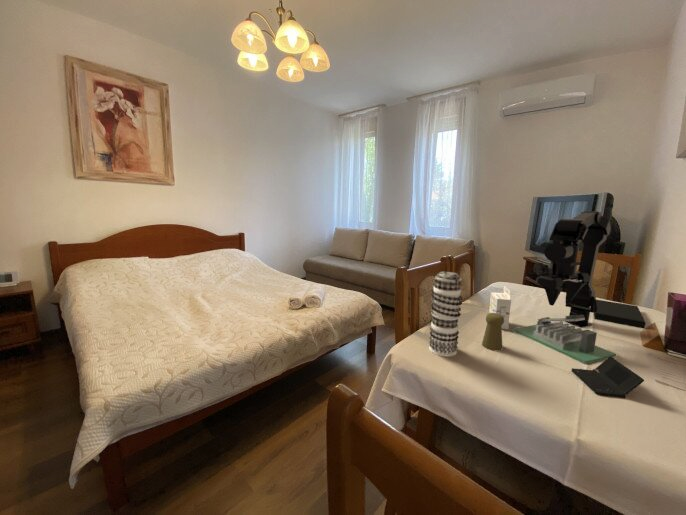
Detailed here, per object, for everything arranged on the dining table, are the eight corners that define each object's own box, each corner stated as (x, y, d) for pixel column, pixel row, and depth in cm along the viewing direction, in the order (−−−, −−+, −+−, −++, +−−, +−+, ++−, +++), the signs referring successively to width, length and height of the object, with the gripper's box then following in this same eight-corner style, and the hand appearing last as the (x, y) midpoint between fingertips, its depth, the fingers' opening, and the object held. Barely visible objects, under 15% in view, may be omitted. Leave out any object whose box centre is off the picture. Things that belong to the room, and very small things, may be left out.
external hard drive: (594, 319, 117) (595, 313, 117) (593, 305, 135) (594, 299, 134) (644, 329, 108) (645, 322, 108) (636, 312, 126) (637, 306, 125)
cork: (500, 343, 96) (504, 312, 94) (504, 352, 90) (507, 318, 88) (480, 340, 98) (483, 309, 96) (483, 348, 92) (486, 316, 90)
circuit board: (540, 325, 110) (541, 323, 110) (616, 356, 88) (616, 353, 88) (513, 330, 106) (513, 328, 106) (584, 364, 84) (585, 361, 84)
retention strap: (547, 320, 103) (546, 315, 103) (585, 319, 91) (584, 314, 92) (538, 321, 102) (537, 316, 102) (575, 321, 90) (574, 316, 90)
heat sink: (552, 329, 105) (554, 313, 104) (602, 349, 91) (605, 331, 90) (527, 333, 102) (529, 317, 100) (575, 355, 87) (578, 336, 86)
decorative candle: (421, 346, 94) (425, 271, 90) (443, 341, 98) (448, 269, 93) (441, 359, 86) (447, 278, 81) (464, 353, 89) (471, 275, 85)
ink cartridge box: (487, 319, 116) (491, 284, 113) (500, 320, 115) (504, 285, 112) (494, 328, 108) (497, 290, 105) (508, 329, 107) (512, 291, 104)
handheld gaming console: (564, 365, 80) (594, 341, 77) (581, 379, 81) (611, 356, 79) (597, 398, 69) (634, 371, 66) (616, 412, 70) (653, 387, 68)
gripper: (557, 252, 105) (552, 292, 108) (523, 256, 98) (518, 299, 101) (593, 257, 95) (586, 302, 98) (558, 262, 88) (552, 310, 91)
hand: (559, 303), depth 97 cm, fingers open, 9 cm apart
